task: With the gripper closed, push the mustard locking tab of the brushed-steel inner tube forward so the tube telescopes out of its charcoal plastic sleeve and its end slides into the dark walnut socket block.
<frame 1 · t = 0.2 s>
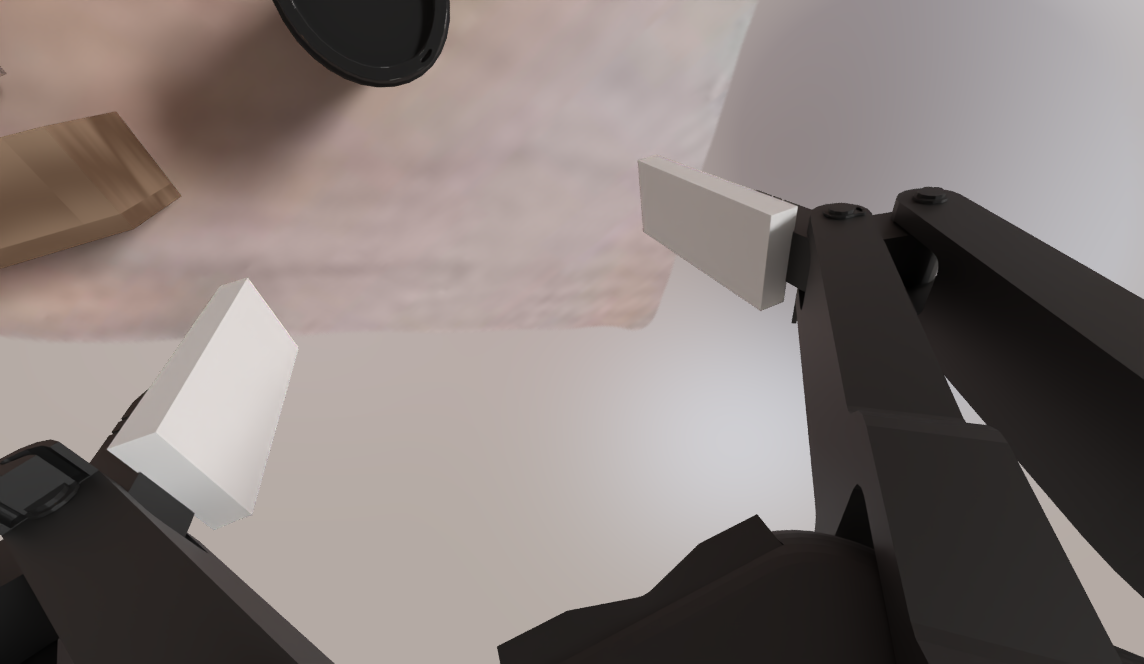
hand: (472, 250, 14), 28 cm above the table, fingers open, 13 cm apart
coffee cup: (369, 12, 31), on the table
socket: (69, 160, 30), on the table
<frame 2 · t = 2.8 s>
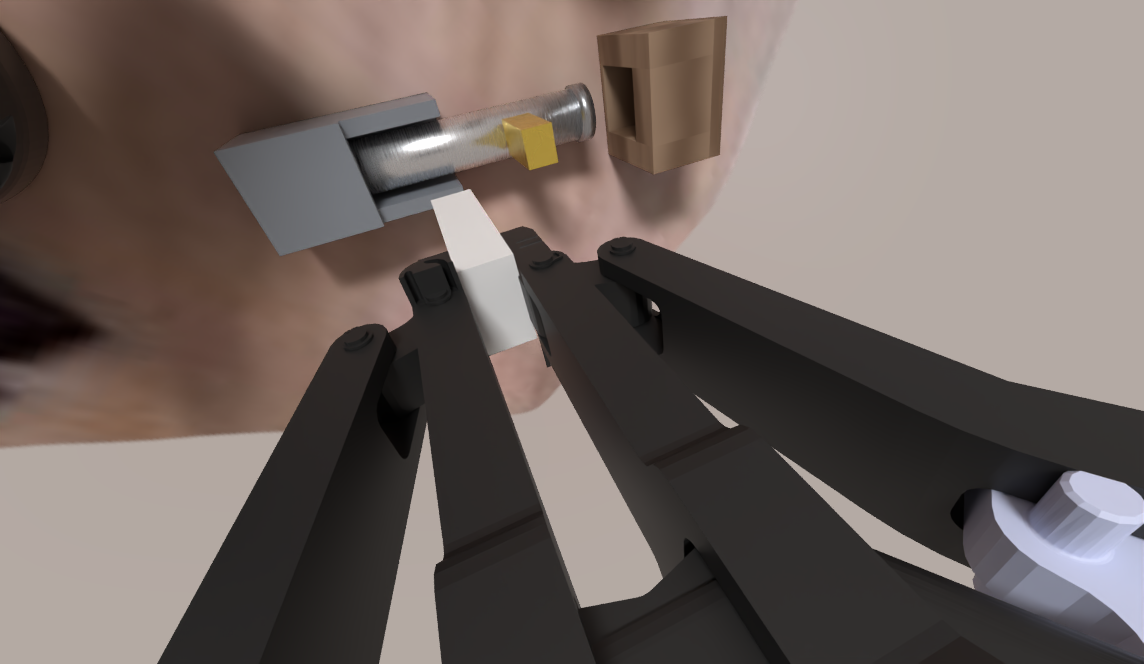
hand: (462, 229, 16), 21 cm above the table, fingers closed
tube: (452, 153, 29), point 5 cm above the table, slide at 0.0 cm
sleeve: (363, 159, 32), on the table
socket: (624, 94, 36), on the table
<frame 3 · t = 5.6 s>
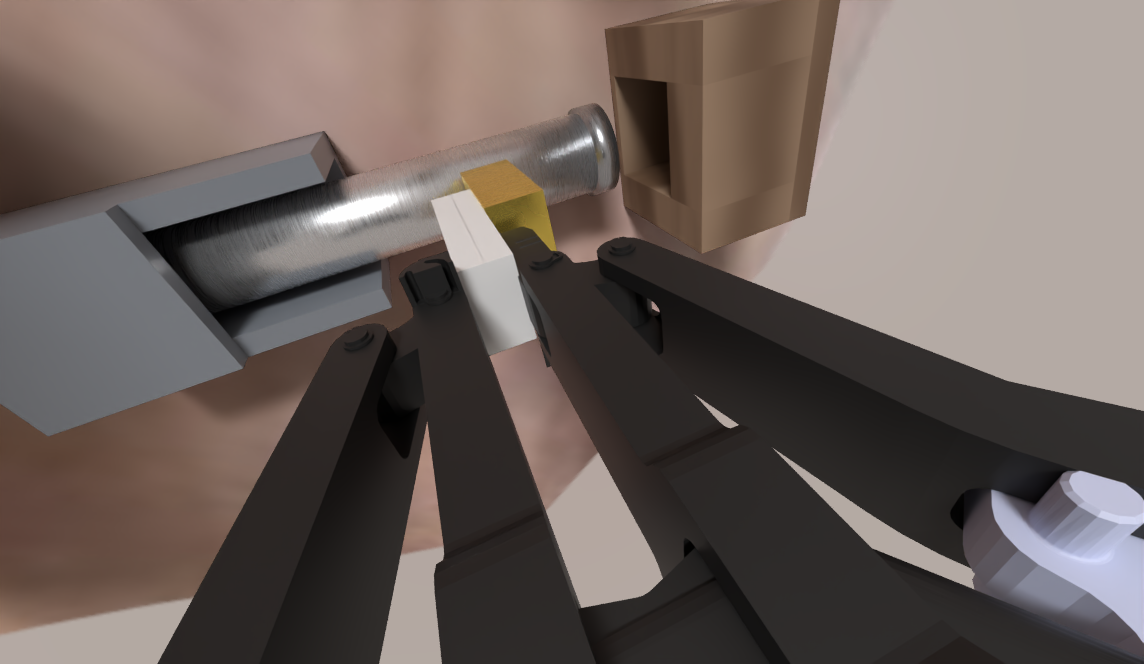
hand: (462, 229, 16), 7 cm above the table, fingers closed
tube: (374, 235, 17), point 5 cm above the table, slide at 0.7 cm, touching gripper
sleeve: (229, 241, 20), on the table
socket: (647, 118, 24), on the table
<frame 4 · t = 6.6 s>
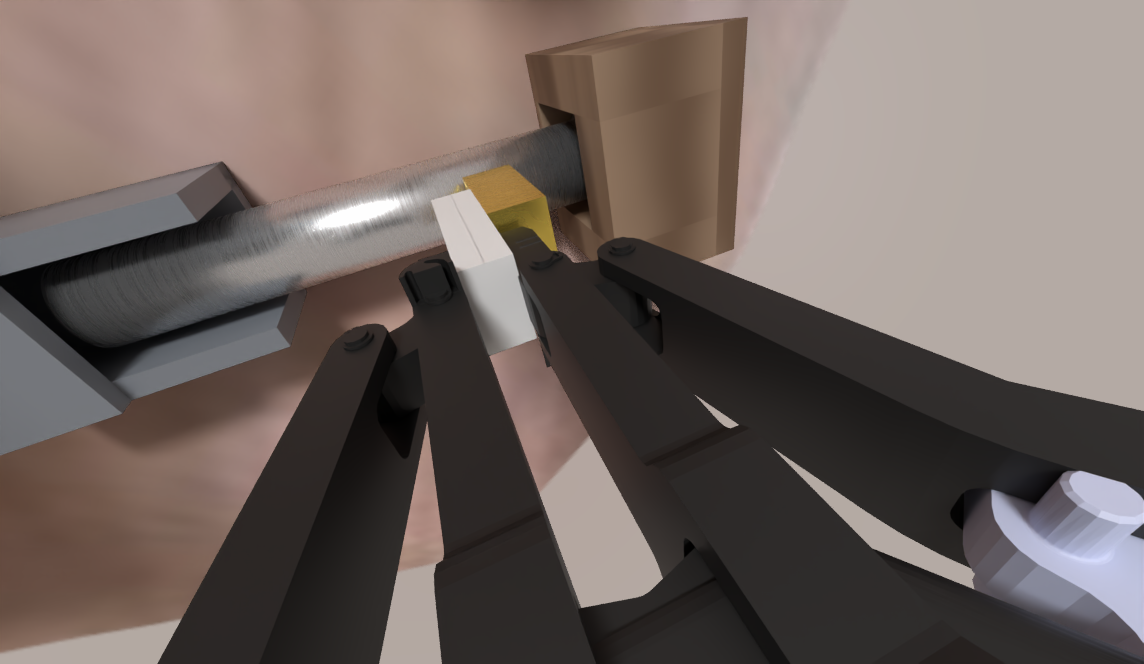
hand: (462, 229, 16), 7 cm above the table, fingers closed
tube: (376, 239, 17), point 5 cm above the table, slide at 5.1 cm, touching gripper
sleeve: (126, 274, 19), on the table
socket: (579, 143, 23), on the table
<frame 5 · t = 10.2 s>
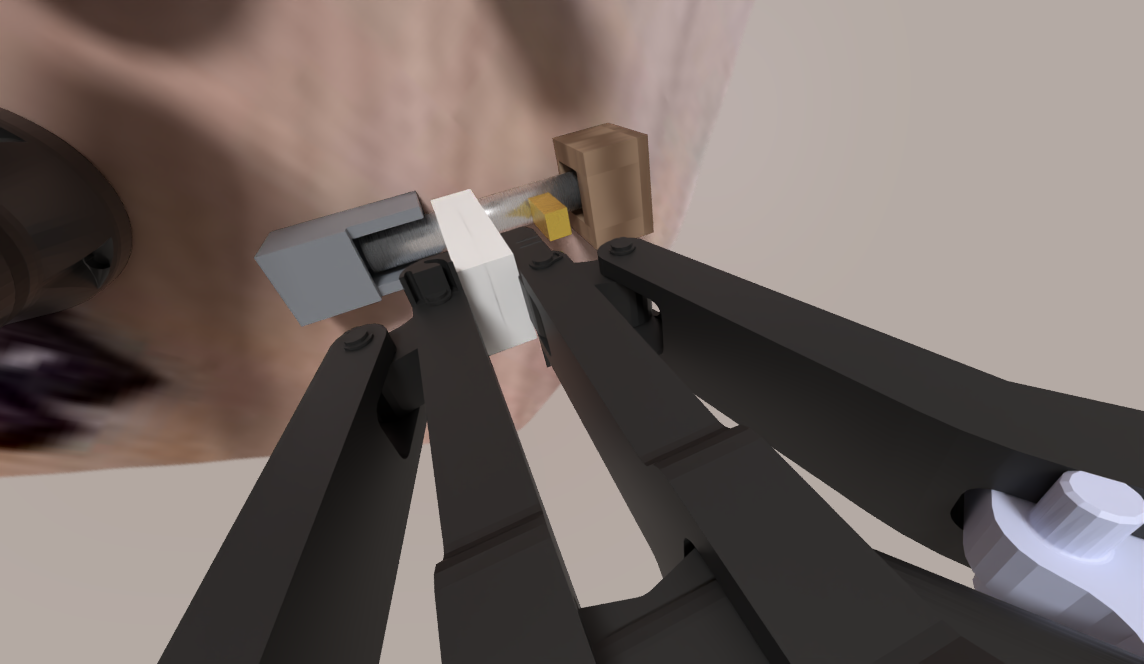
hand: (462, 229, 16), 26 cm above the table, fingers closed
tube: (490, 225, 38), point 5 cm above the table, slide at 5.2 cm
sleeve: (366, 242, 40), on the table
socket: (578, 178, 44), on the table
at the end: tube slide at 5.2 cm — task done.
